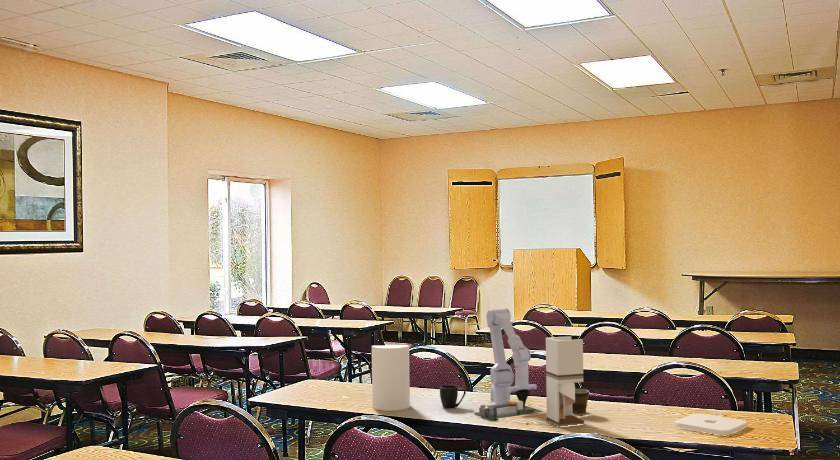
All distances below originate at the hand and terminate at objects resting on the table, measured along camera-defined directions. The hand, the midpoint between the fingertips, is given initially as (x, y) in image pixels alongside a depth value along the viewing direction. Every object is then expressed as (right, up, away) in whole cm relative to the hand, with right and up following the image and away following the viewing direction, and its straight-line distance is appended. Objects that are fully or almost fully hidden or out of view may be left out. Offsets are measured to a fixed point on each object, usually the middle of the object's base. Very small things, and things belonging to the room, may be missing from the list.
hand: (522, 407), depth 328 cm
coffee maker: (+15, -2, -22) cm, 26 cm away
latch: (-4, -1, -2) cm, 4 cm away
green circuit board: (-6, -2, -3) cm, 7 cm away
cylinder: (-58, -3, +14) cm, 60 cm away
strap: (-10, +1, -5) cm, 12 cm away
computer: (+71, -2, -30) cm, 78 cm away
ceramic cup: (+22, -2, -5) cm, 23 cm away
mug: (-30, -3, +10) cm, 32 cm away
